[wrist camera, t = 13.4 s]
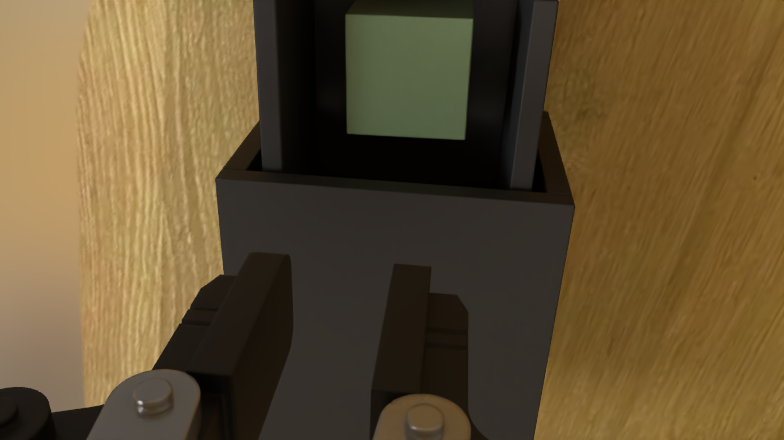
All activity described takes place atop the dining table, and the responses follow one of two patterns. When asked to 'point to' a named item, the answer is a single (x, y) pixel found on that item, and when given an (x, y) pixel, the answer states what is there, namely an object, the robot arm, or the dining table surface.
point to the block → (408, 67)
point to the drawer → (390, 153)
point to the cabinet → (373, 276)
